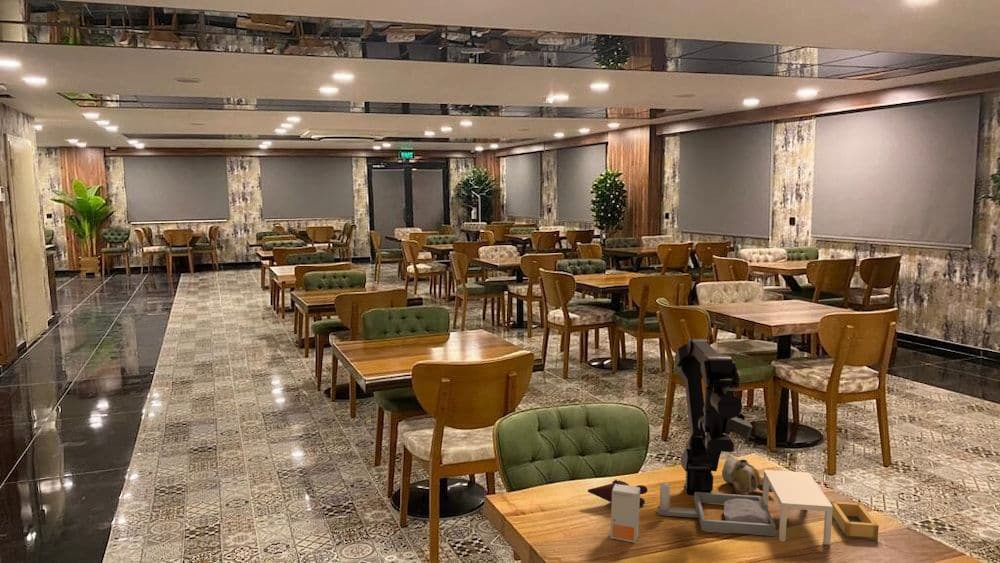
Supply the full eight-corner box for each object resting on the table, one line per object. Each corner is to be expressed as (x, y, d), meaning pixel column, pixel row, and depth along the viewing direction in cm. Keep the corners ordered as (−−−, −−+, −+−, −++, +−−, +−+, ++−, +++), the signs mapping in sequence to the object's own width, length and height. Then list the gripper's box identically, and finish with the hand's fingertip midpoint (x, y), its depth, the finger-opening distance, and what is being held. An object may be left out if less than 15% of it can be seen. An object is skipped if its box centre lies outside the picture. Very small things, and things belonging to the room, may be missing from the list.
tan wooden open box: (845, 538, 166) (846, 523, 165) (830, 515, 177) (831, 501, 177) (877, 540, 165) (878, 525, 164) (860, 517, 176) (860, 503, 176)
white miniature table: (779, 540, 164) (782, 503, 163) (762, 503, 184) (763, 469, 183) (830, 544, 162) (832, 506, 161) (806, 506, 182) (808, 472, 181)
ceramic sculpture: (745, 447, 200) (780, 470, 186) (742, 476, 202) (777, 500, 188) (712, 451, 197) (745, 475, 183) (710, 480, 199) (743, 506, 184)
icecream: (590, 488, 178) (650, 494, 177) (588, 470, 184) (646, 475, 184) (586, 511, 180) (646, 516, 180) (585, 492, 187) (642, 497, 187)
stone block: (730, 537, 170) (773, 532, 168) (726, 518, 169) (769, 513, 168) (721, 517, 181) (761, 512, 180) (718, 499, 181) (758, 494, 180)
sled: (660, 527, 170) (661, 498, 169) (656, 498, 186) (656, 471, 185) (775, 536, 166) (776, 505, 165) (760, 505, 182) (762, 477, 181)
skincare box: (609, 539, 165) (611, 490, 163) (613, 531, 169) (614, 483, 167) (636, 543, 163) (637, 493, 161) (639, 535, 167) (640, 486, 165)
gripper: (757, 419, 165) (754, 483, 167) (743, 396, 183) (740, 454, 185) (708, 416, 167) (706, 480, 169) (699, 394, 185) (696, 452, 187)
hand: (713, 466), depth 177 cm, fingers closed
